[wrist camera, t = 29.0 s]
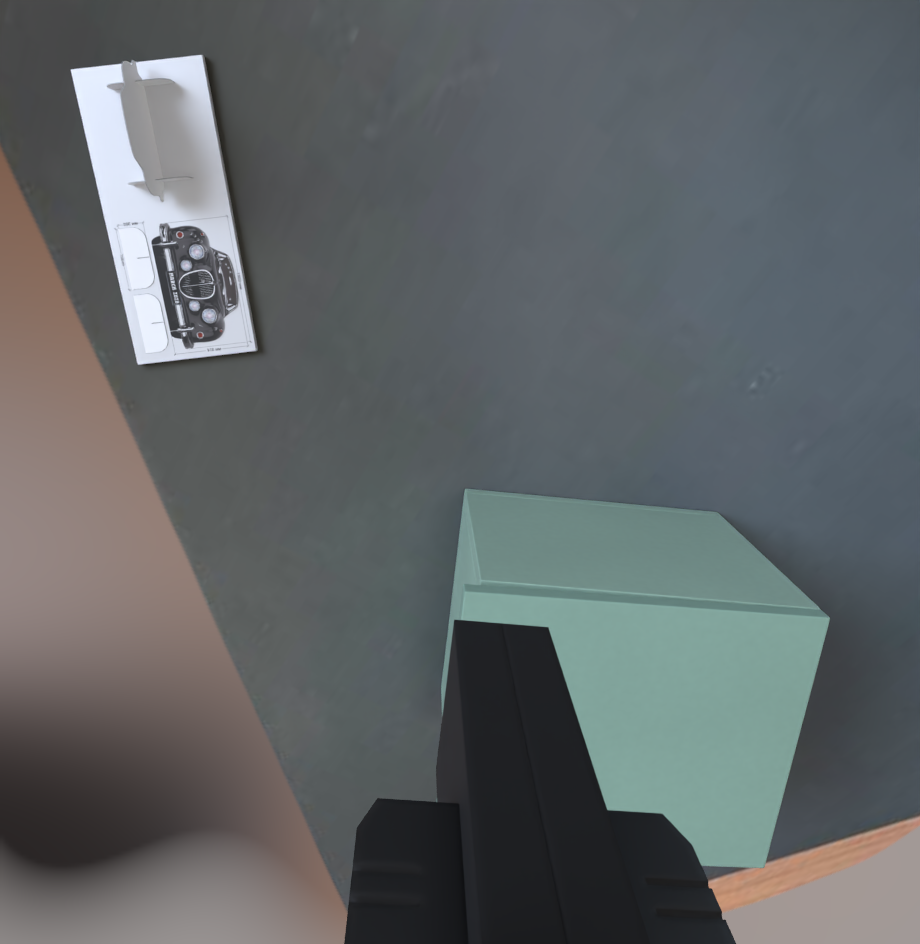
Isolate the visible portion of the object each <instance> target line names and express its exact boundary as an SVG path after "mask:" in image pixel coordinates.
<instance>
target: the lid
mask: <svg viewBox="0 0 920 944" xmlns="http://www.w3.org/2000/svg"><path fill="white" fill-rule="evenodd" d="M459 620H466V621H478V622H491V623H503V624H515V625H528V626H540V627H548V628H549V631H550V634H551V637H552V640H553V643H554V646H555V650H556V653H557V656H558V659H559V662H560V665H561V668H562V671H563V674H564V677H565V681H566V684H567V687H568V690H569V693H570V696H571V699H572V702H573V705H574V708H575V712H576V715H577V718H578V721H579V724H580V727H581V730H582V733H583V736H584V739H585V743H586V746H587V749H588V752H589V755H590V758H591V761H592V764H593V767H594V770H595V773H596V777H597V780H598V783H599V786H600V789H601V792H602V795H603V798H604V801H605V804H606V808H607V810H614V811H630V812H645V813H661V814H663V815H664V816H665V817H666V818H667V819H668V820H669V821H670V822H671V823H672V824H673V825H674V826H675V827H676V828H677V829H678V831H679V832H680V833H681V834H682V835H683V836H684V837H685V838H686V839H687V840H688V841H689V842H690V843H691V844H692V846H693V848H694V850H695V852H696V855H697V857H698V859H699V861H700V864H701V866H722V867H748V868H764V867H765V863H766V859H767V855H768V851H769V848H770V844H771V840H772V836H773V833H774V829H775V825H776V821H777V817H778V814H779V810H780V806H781V802H782V799H783V795H784V791H785V787H786V784H787V780H788V776H789V772H790V768H791V765H792V761H793V757H794V753H795V750H796V746H797V742H798V738H799V734H800V731H801V727H802V723H803V719H804V716H805V712H806V708H807V704H808V700H809V697H810V693H811V689H812V685H813V682H814V678H815V674H816V670H817V667H818V663H819V659H820V655H821V651H822V648H823V644H824V640H825V636H826V633H827V629H828V625H829V621H830V617H829V616H827V615H826V614H825V613H824V612H823V611H822V610H815V609H801V608H788V607H774V606H760V605H746V604H733V603H719V602H705V601H692V600H678V599H664V598H650V597H637V596H623V595H609V594H595V593H582V592H568V591H554V590H540V589H527V588H513V587H499V586H486V585H472V584H463V588H462V596H461V604H460V612H459ZM436 802H437V799H436Z"/></svg>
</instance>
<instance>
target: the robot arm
mask: <svg viewBox="0 0 920 944" xmlns="http://www.w3.org/2000/svg"><path fill="white" fill-rule="evenodd" d="M436 779H437V802H427V801H411V800H395V799H379V798H377V800H376V801H375V803H374V804H373V806H372V807H371V808H370V810H369V811H368V813H367V814H366V816H365V817H364V818H363V820H362V821H361V823H360V824H359V826H358V827H357V832H356V842H355V851H354V860H353V870H352V878H351V888H350V897H349V906H348V915H347V925H346V934H345V943H344V944H736V943H735V940H734V938H733V936H732V934H731V931H730V929H729V927H728V925H727V923H726V920H723V919H722V911H721V909H720V907H719V904H718V902H717V900H716V898H715V895H714V893H713V891H712V889H711V888H709V887H708V879H707V877H706V875H705V873H704V870H703V868H702V866H701V864H700V861H699V859H698V857H697V855H696V852H695V850H694V848H693V846H692V844H691V843H690V842H689V841H688V840H687V839H686V838H685V837H684V836H683V835H682V834H681V833H680V832H679V831H678V829H677V828H676V827H675V826H674V825H673V824H672V823H671V822H670V821H669V820H668V819H667V818H666V817H665V816H664V815H663V814H661V813H645V812H630V811H614V810H607V808H606V804H605V801H604V798H603V795H602V792H601V789H600V786H599V783H598V780H597V777H596V773H595V770H594V767H593V764H592V761H591V758H590V755H589V752H588V749H587V746H586V743H585V739H584V736H583V733H582V730H581V727H580V724H579V721H578V718H577V715H576V712H575V708H574V705H573V702H572V699H571V696H570V693H569V690H568V687H567V684H566V681H565V677H564V674H563V671H562V668H561V665H560V662H559V659H558V656H557V653H556V650H555V646H554V643H553V640H552V637H551V634H550V631H549V628H548V627H540V626H528V625H515V624H503V623H491V622H478V621H466V620H454V625H453V634H452V642H451V650H450V658H449V666H448V675H447V683H446V691H445V699H444V708H443V716H442V724H441V732H440V741H439V749H438V757H437V765H436Z"/></svg>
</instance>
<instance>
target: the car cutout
mask: <svg viewBox="0 0 920 944" xmlns="http://www.w3.org/2000/svg"><path fill="white" fill-rule="evenodd" d="M70 70H71V75H72V79H73V84H74V88H75V92H76V97H77V101H78V105H79V110H80V114H81V119H82V123H83V127H84V132H85V136H86V141H87V145H88V149H89V154H90V158H91V163H92V167H93V171H94V176H95V180H96V185H97V189H98V193H99V198H100V202H101V207H102V211H103V215H104V220H105V224H106V229H107V233H108V237H109V242H110V246H111V251H112V255H113V259H114V264H115V268H116V273H117V277H118V281H119V286H120V290H121V295H122V299H123V303H124V308H125V312H126V317H127V321H128V325H129V330H130V334H131V339H132V343H133V347H134V352H135V356H136V360H137V365H141V364H149V363H158V362H166V361H175V360H184V359H192V358H201V357H209V356H218V355H226V354H235V353H243V352H252V351H257V350H258V347H257V341H256V336H255V330H254V325H253V319H252V314H251V308H250V303H249V297H248V292H247V286H246V281H245V275H244V270H243V265H242V259H241V254H240V248H239V243H238V237H237V232H236V226H235V221H234V215H233V210H232V204H231V199H230V193H229V188H228V183H227V177H226V172H225V166H224V161H223V155H222V150H221V144H220V139H219V133H218V128H217V122H216V117H215V111H214V106H213V101H212V95H211V90H210V84H209V79H208V73H207V68H206V62H205V57H204V56H203V55H193V56H184V57H175V58H167V59H158V60H149V61H140V62H135V61H133V60H132V62H131V63H129V62H128V61H123V62H122V64H113V65H104V66H95V67H87V68H78V69H70Z"/></svg>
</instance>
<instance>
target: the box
mask: <svg viewBox="0 0 920 944" xmlns="http://www.w3.org/2000/svg"><path fill="white" fill-rule="evenodd" d="M463 584H472V585H486V586H499V587H513V588H527V589H540V590H554V591H568V592H582V593H595V594H609V595H623V596H637V597H650V598H664V599H678V600H692V601H705V602H719V603H733V604H746V605H760V606H774V607H788V608H801V609H815V610H820V608H819V607H818V606H817V605H816V604H815V603H814V602H813V601H812V600H810V599H809V598H808V597H807V596H806V595H805V594H804V593H803V592H802V591H801V590H800V589H799V588H798V587H797V586H796V585H794V584H793V583H792V582H791V581H790V580H789V579H788V578H787V577H786V576H785V575H784V574H783V573H782V572H781V571H780V570H779V569H777V568H776V567H775V566H774V565H773V564H772V563H771V562H770V561H769V560H768V559H767V558H766V557H765V556H764V555H763V554H761V553H760V552H759V551H758V550H757V549H756V548H755V547H754V546H753V545H752V544H751V543H750V542H749V541H748V540H747V539H746V538H744V537H743V536H742V535H741V534H740V533H739V532H738V531H737V530H736V529H735V528H734V527H733V526H732V525H731V524H730V523H728V522H727V521H726V520H725V519H724V518H723V517H722V516H721V515H720V514H719V513H718V512H711V511H700V510H690V509H679V508H668V507H658V506H647V505H636V504H625V503H615V502H604V501H593V500H583V499H572V498H561V497H550V496H540V495H529V494H518V493H508V492H497V491H486V490H475V489H465V492H464V500H463V508H462V517H461V525H460V534H459V542H458V550H457V559H456V567H455V575H454V584H453V592H452V601H451V609H450V617H449V626H448V634H447V642H446V651H445V659H444V668H443V676H442V684H441V698H442V716H443V708H444V699H445V691H446V683H447V675H448V666H449V658H450V650H451V642H452V634H453V625H454V620H459V612H460V604H461V596H462V588H463Z"/></svg>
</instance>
